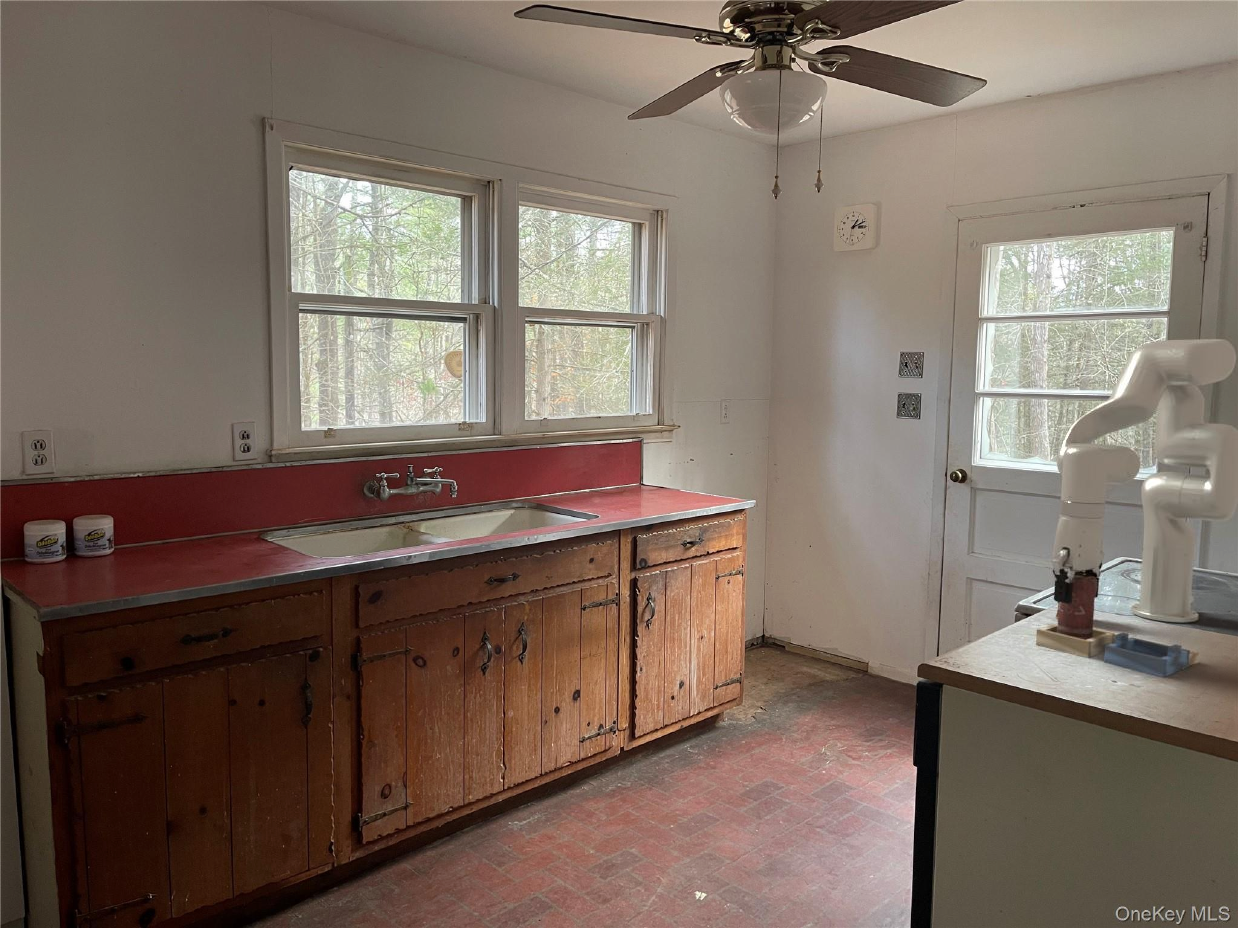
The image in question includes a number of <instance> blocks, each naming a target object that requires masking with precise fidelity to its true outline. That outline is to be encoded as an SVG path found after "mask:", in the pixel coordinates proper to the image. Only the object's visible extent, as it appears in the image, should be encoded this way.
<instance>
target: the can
mask: <svg viewBox="0 0 1238 928" xmlns="http://www.w3.org/2000/svg"><path fill="white" fill-rule="evenodd" d="M1066 574H1068V573H1066ZM1071 583H1073V594H1072V603H1070V604H1067V603H1062V602H1059V608H1058V607H1057V610H1058V619H1057V623H1058V626H1057V633H1059V634H1063V635H1068V636H1072V637H1076V638H1080V639H1084V640H1087V639H1090V638H1092V636H1093V628H1094V620H1095V619H1094V617H1095V616H1094V615H1095V601H1096V600H1095V599H1096V598H1095V596H1096V591H1097V579H1096V578H1095V577H1092V576H1090V575H1085V574H1077V573H1075V574H1074V576H1073V578H1072V580H1071Z"/></svg>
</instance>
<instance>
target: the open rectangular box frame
mask: <svg viewBox="0 0 1238 928" xmlns="http://www.w3.org/2000/svg"><path fill="white" fill-rule="evenodd" d="M1057 626H1058V622H1057V623H1055V624H1051V625H1048V626H1045V627H1041V628H1037V629H1036V636H1035V637H1036V640H1035V641H1036V642H1035V645H1036V646H1041V647H1044V648H1048V649H1052V650H1055V651H1060V652H1063V653H1067V654H1070V655H1071V654H1072V655H1076V656H1078V657H1083V658H1091V657H1094V656H1096V655H1097V656H1098V655H1101V654H1103V653H1104V660H1103V661H1104V663H1106V664H1111V665H1114V666H1118V667H1123V668H1127V669H1129V670H1134V671H1138V672H1142V673H1146V674H1150V675H1153V676H1156V677H1161V678H1165V677H1168V676H1169V675H1172V674H1175V673H1177V672H1180V671H1181V669H1182V670H1184V669H1186V668H1185V667H1187V668H1189V667H1190V666H1189V665H1192V664H1194V665H1196V664H1197V663H1196V662H1198V663H1199V658H1200V652H1199V651H1197V650H1196V651H1195V650H1191V649H1189V648H1188V649H1187V648H1183V647H1182V645H1180V644H1173V645H1170V644H1165V643H1161V642H1157V641H1152V640H1148V639H1143V638H1139V637H1135V636H1131V635H1129V633H1128V632H1127V633H1126V632H1120V633H1117V632H1112V631H1108V630H1104V629H1101V628H1095V627H1093V636H1092V638H1090V639H1087V640H1084V639H1080V638H1076V637H1072V636H1068V635H1063V634H1059V633H1057ZM1195 663H1196V664H1195ZM1188 666H1189V667H1188ZM1192 666H1193V665H1192ZM1183 668H1184V669H1183ZM1179 670H1180V671H1179ZM1176 671H1177V672H1176Z"/></svg>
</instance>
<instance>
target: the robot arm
mask: <svg viewBox="0 0 1238 928" xmlns="http://www.w3.org/2000/svg"><path fill="white" fill-rule="evenodd" d="M1236 362H1237V354H1236V350H1235V348H1234V346H1233V345H1232V343H1230V342H1229V341H1228V340H1226V339H1223V338H1222V339H1221V338H1209V339H1208V338H1207V339H1206V338H1205V339H1167V340H1166V339H1165V340H1159V341H1158V340H1157V341H1153V342H1150V343H1147V344H1144V345H1140V346H1138V347H1136V348H1135V349H1134V350H1133V351H1132V352H1131V353H1130V354H1129V356H1128V358H1127V360H1126V362H1125V364H1124V366H1123V369H1122V370H1121V373H1120V374H1119V377H1118V380H1117V381H1116V384H1115V385H1114V388H1113V390H1112V392H1111V394H1110V396H1109V398H1108V399H1106V400H1104V401H1103V402H1101V403H1100V404H1098V405H1096V406H1095V407H1093V408H1091V410H1089V411H1087V412H1086V413H1085V414H1083V415H1082V416H1081V417H1078V419H1077V420H1075V422H1074V423H1073V424H1072V425H1071V426H1070V427H1069V430H1068V431H1067V433H1066V436H1065V438H1064V439H1063V441H1062V443H1061V445H1060V448H1059V451H1058V454H1057V458H1056V467H1057V470H1058V472H1059V474H1060V475H1061V477H1062V478H1061V493H1060V505H1059V519H1058V522H1057V526H1056V527H1057V528H1056V530H1055V537H1054V544H1053V552H1052V560H1051V565H1052V574H1053V580H1054V591H1053V592H1054V593H1053V600H1054V601H1055V602H1057V603H1058V602H1062V603H1067V604H1070V603H1072V594H1073V583H1071V580H1072V578H1073V576H1074V574H1075V572H1080V571H1083V573H1084V574H1085V575H1090V576H1092V577H1095V578H1096V579H1097V591H1096V596H1095V599H1096V598H1098V596H1099V585H1100V577H1101V574H1102V573H1101V569H1102V568H1103V561H1104V557H1105V552H1104V551H1103V521H1104V519H1105V509H1106V496H1107V495H1106V494H1107V484H1108V485H1109V484H1110V485H1124V484H1127V483H1129V482H1130V483H1131V482H1132V481H1133V480H1135V479H1136V477H1137V476H1138V474H1139V472H1140V469H1141V461H1140V457H1139V455H1138V453H1137V452H1136V451H1135V450H1133V449H1132V448H1130V447H1127V446H1123V445H1116V444H1102V443H1100V444H1099V443H1094V442H1096V441H1097V440H1098V439H1101V438H1102V437H1103V436H1106V435H1108V434H1111V433H1114V432H1117V431H1121V430H1125V429H1129V428H1131V427H1135V426H1138V425H1141V424H1143V423H1145V422H1147V421H1149V420H1150V419H1151V418H1152V417H1153V416H1154V414H1155V412H1156V411H1157V413H1156V414H1157V415H1156V423H1155V434H1154V435H1155V436H1154V445H1153V447H1154V448H1153V451H1154V456H1155V459H1156V461H1158V462H1159V463H1161V464H1164V465H1167V466H1171V467H1173V466H1174V467H1183V468H1195V469H1196V468H1198V469H1207V470H1209V474H1196V473H1186V472H1175V471H1161V472H1156V473H1152V474H1150V475H1148V476H1147V477H1146V478H1145V479H1144V480H1143V482H1142V485H1141V488H1140V489H1141V490H1140V492H1141V493H1140V494H1141V503H1142V511H1143V540H1142V541H1143V543H1142V556H1141V558H1142V559H1141V572H1140V573H1141V575H1140V576H1141V577H1140V589H1139V603H1135V604H1132V605H1131V607H1130V612H1131V613H1132V614H1134V615H1136V616H1138V617H1142V618H1144V619H1148V620H1154V621H1158V622H1159V621H1160V622H1167V623H1181V624H1182V623H1193V622H1197V621H1198V620H1199V613H1197V612H1196V611H1195V610H1193V609H1191V606H1192V605H1191V603H1193V602H1194V600H1195V596H1194V595H1193V594H1192V591H1193V590H1192V587H1193V573H1194V572H1193V571H1194V559H1195V548H1196V546H1195V545H1196V539H1195V534H1194V532H1193V530H1192V528H1191V526H1190V525H1189V524H1188V523H1187V521H1186V520H1185V519H1193V520H1199V521H1211V522H1225V521H1228V520H1230V519H1231V518H1232V517H1233V516H1234V515H1235V513H1236V510H1237V506H1238V429H1237V428H1236V427H1234V426H1232V425H1229V424H1224V423H1209V422H1208V423H1207V422H1204V414H1205V397H1204V395H1203V393H1202V392H1201V390H1200V389H1199V387H1198V386H1204V385H1205V386H1206V385H1209V384H1213V383H1218V382H1221V381H1224V380H1225V379H1226V378H1229V376H1230V375H1231V374H1232V372H1233V371H1234V368H1235V366H1236ZM1065 571H1067V572H1068V574H1066V572H1065Z"/></svg>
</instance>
